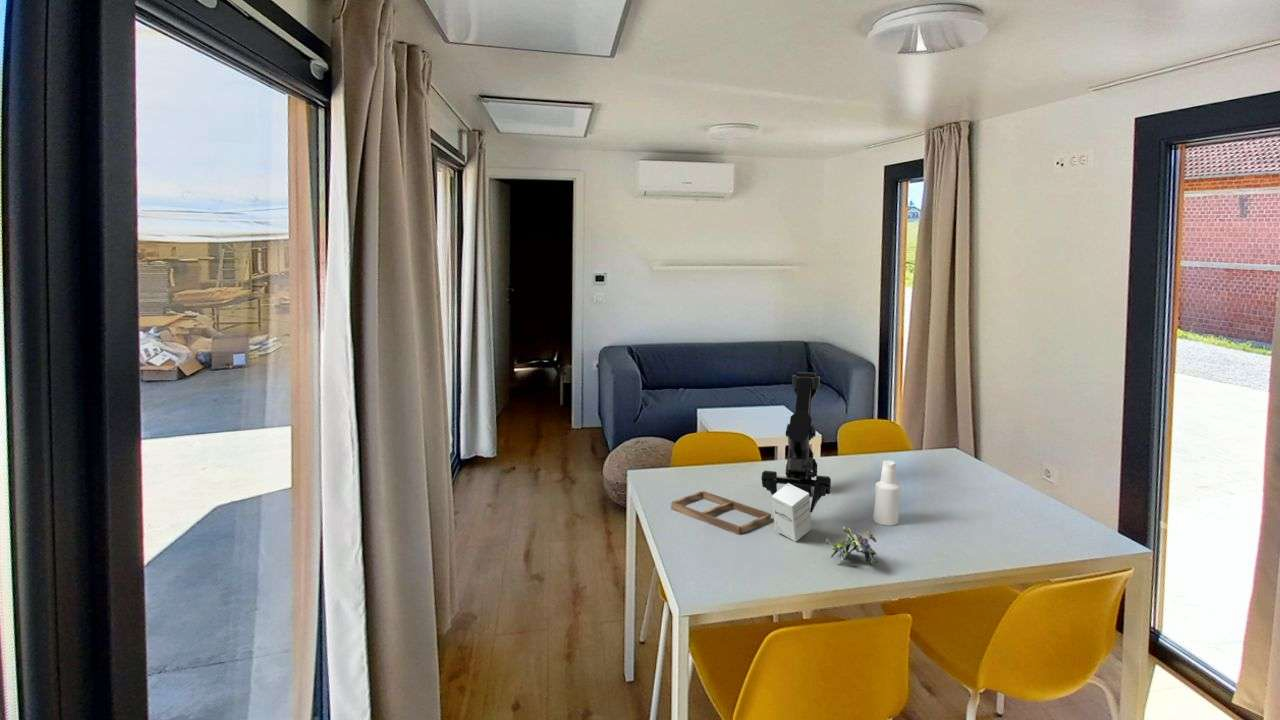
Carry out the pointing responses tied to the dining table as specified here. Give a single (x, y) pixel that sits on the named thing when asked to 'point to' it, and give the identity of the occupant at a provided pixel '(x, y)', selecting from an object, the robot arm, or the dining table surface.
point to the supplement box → (792, 512)
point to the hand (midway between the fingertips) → (793, 510)
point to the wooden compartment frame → (725, 506)
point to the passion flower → (855, 546)
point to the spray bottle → (887, 496)
